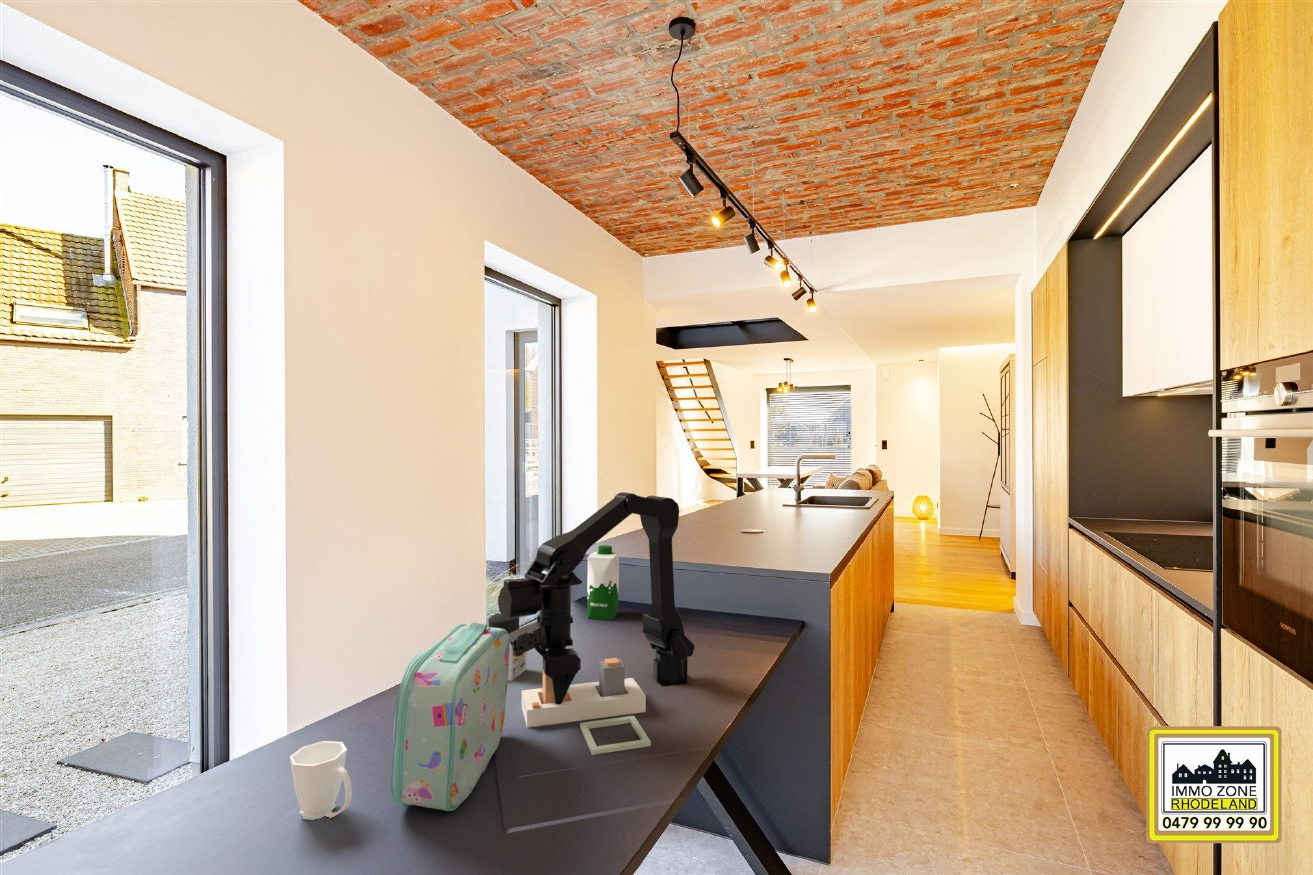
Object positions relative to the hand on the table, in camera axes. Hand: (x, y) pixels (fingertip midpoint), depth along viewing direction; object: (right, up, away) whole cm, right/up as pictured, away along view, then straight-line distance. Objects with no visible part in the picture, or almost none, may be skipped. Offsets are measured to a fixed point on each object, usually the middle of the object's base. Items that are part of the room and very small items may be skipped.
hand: (554, 693), depth 114 cm
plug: (0, -4, 0) cm, 4 cm away
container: (-14, -4, +19) cm, 25 cm away
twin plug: (+10, -4, +3) cm, 12 cm away
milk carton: (+3, -5, +64) cm, 65 cm away
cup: (-26, -4, -31) cm, 41 cm away
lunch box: (-12, -4, -20) cm, 23 cm away
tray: (+12, -4, -9) cm, 15 cm away
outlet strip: (+5, -4, +2) cm, 7 cm away
